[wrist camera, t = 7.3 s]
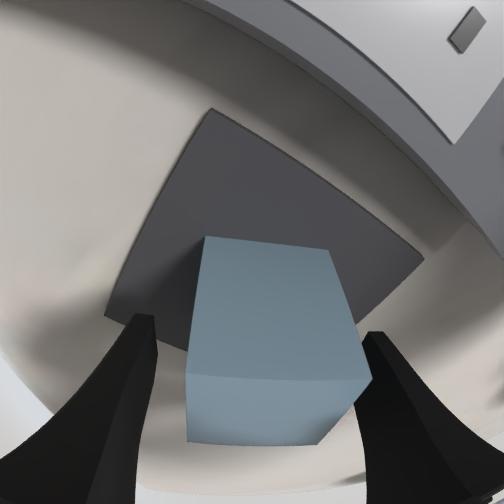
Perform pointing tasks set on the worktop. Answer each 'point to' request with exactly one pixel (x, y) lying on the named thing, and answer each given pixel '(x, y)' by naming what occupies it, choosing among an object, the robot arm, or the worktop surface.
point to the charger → (270, 346)
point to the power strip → (406, 80)
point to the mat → (250, 228)
